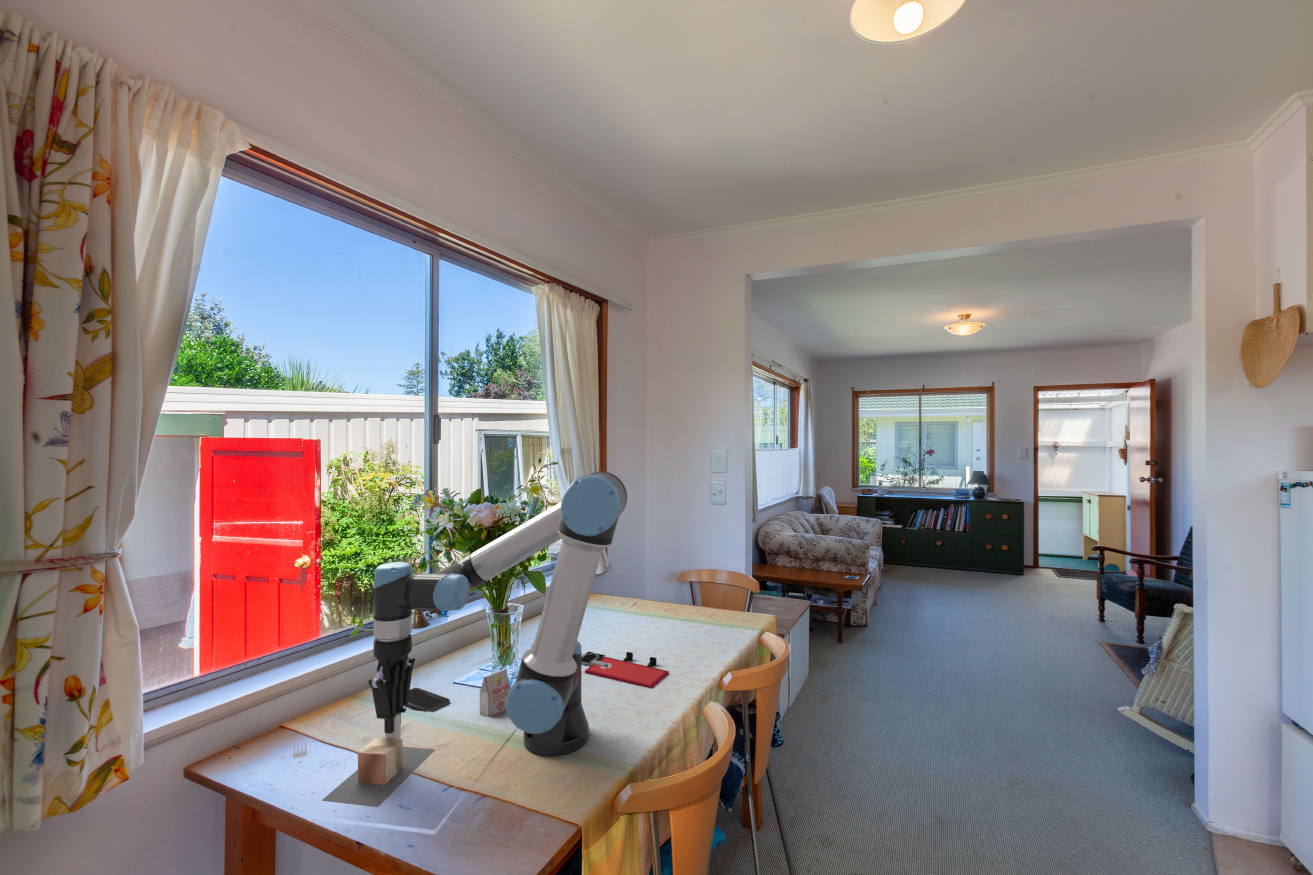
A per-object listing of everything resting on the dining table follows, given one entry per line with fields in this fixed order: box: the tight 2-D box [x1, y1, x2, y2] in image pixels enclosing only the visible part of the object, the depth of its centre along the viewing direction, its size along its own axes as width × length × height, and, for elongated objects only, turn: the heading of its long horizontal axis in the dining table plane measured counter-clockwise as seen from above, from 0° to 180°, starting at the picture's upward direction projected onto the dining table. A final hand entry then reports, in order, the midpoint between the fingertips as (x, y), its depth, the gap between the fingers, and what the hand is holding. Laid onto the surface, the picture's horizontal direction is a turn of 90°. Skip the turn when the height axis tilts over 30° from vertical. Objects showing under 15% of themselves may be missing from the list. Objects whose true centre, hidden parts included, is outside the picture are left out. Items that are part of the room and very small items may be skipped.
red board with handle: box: [581, 651, 670, 689], centre depth 174 cm, size 30×3×15 cm
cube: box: [357, 736, 404, 785], centre depth 119 cm, size 6×6×6 cm
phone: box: [403, 687, 451, 713], centre depth 153 cm, size 8×1×15 cm
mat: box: [321, 746, 435, 808], centre depth 119 cm, size 12×20×1 cm, turn 171°
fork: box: [293, 742, 308, 764], centre depth 122 cm, size 3×16×2 cm, turn 35°
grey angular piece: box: [479, 668, 512, 718], centre depth 147 cm, size 4×7×10 cm, turn 141°
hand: (392, 744), depth 123 cm, fingers closed
